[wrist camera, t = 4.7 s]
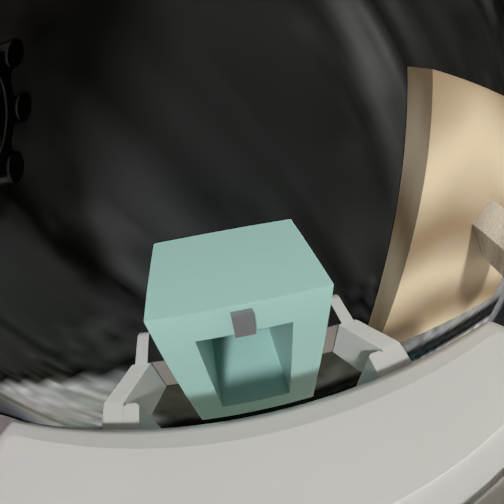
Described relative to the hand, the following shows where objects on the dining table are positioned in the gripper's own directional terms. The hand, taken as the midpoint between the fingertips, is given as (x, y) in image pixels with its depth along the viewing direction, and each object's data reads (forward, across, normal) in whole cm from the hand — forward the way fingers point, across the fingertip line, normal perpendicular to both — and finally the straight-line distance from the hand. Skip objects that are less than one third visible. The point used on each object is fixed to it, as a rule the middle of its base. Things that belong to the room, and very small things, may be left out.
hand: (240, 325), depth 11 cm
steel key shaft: (0, +15, +2) cm, 15 cm away
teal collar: (+2, 0, 0) cm, 2 cm away
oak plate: (+2, +15, +2) cm, 15 cm away
